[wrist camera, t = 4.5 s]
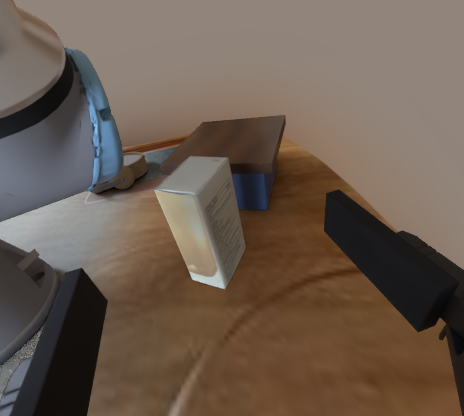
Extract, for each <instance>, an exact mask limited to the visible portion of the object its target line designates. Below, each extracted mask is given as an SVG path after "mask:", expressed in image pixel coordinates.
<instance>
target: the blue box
mask: <svg viewBox="0 0 464 416" xmlns="http://www.w3.org/2000/svg"><path fill="white" fill-rule="evenodd" d="M276 171H277V160H276V164H275V168H274V172H273V173H269V174H231V175H232V180H233V185H234V190H235V195H236V201H237V206H238V209H258V210H267V209H268V205H269V201H270V196H271V192H272V188H273V184H274V179H275V175H276Z"/></svg>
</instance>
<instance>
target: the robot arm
mask: <svg viewBox="0 0 464 416" xmlns="http://www.w3.org/2000/svg"><path fill="white" fill-rule="evenodd" d="M123 163H124V157H123V150H122V144H121V140H120V137H119V133H118V129H117V126H116V123H115V120H114V118H113V116H112V115H111V110H110V106H109V103H108V99H107V96H106V94H105V91H104V89H103V86H102V84H101V82H100V79H99V77H98V75H97V73H96V71H95V69H94V67H93V65H92V63H91V62H90V60H89V59H88V57H87V56H86V55H85V54H84V53H83V52H81V51H79V50H72V49H68V48H64V47H63V44H62V42H61V40H60V39H59V37H58V35H57V33H56V32H55V31H54V30H53V29H52V28H51V27H50V26H49V25H48V24H46V23H45V22H44V21H42V20H40V19H39V18H37V17H35V16H33V15H31V14H30V13H28V12H26V11H24V10H22V9H20V8H18V7H16V5H15V3H14V1H13V0H0V222H1V221H4V220H7V219H10V218H12V217H15V216H18V215H21V214H23V213H26V212H29V211H32V210H35V209H37V208H40V207H43V206H46V205H48V204H51V203H54V202H57V201H60V200H62V199H65V198H68V197H71V196H73V195H76V194H79V193H82V192H84V191H90V190H92V189H93V188H94V187H95V186H97V185H99V184H101V183H103V182H106V181H108V180H110V179H113V178H115V177H116V176H117V175H118V174H119V173H120V172H121V170H122V168H123ZM324 231H325V232H326V234H327V235H328V236H329V237H330V238H331V239H332V240H333V241H334V242H335V243H336V244H337V245H338V246H339V248H340V249H341V250H342V251H343V252H344V253H345V254H346V255H347V256H348V257H349V258H350V259H351V260H352V262H353V263H354V264H355V265H356V266H357V267H358V268H359V269H360V270H361V271H362V272H363V273H364V274H365V276H366V277H367V278H368V279H369V280H370V281H371V282H372V283H373V284H374V285H375V286H376V287H377V288H378V289H379V291H380V292H381V293H382V294H383V295H384V296H385V297H386V298H387V299H388V300H389V301H390V302H391V303H392V305H393V306H394V307H395V308H396V309H397V310H398V311H399V312H400V313H401V314H402V315H403V316H404V317H405V319H406V320H407V321H408V322H409V323H410V324H411V325H412V326H413V327H414V328H415V329H416V330H417V331H418V332H420V331H423V330H425V329H428V328H430V327H433V326H435V324H436V323H437V321H438V319H439V318H441V319H442V320H443V321H444V322H446V325H445V326H444V328H443V329H442V331H441V333H440V334H439V339H440V340H443V339H444V337H445V336H446V335H447V341H448V346H449V351H450V356H451V361H452V366H453V371H454V376H455V381H456V386H457V391H458V396H459V401H460V406H461V411H462V416H464V270H463V269H461V268H460V267H459V266H457V265H456V264H454V263H453V262H452V261H450V260H449V259H447V258H446V257H445V256H443V255H442V254H440V253H439V252H436V250H435V249H433V248H432V247H431V246H428V245H427V244H426V243H425V242H423V241H422V240H421V239H419V238H418V237H417V236H415V235H412V234H410V233H407V232H405V231H400V232H397V233H395V232H394V231H393V230H391V229H390V228H389V227H387V226H386V225H385V224H383V223H382V222H381V221H379V220H378V219H377V218H376V217H374V216H373V215H372V214H370V213H369V212H368V211H366V210H365V209H364V208H362V207H361V206H360V205H359V204H357V203H356V202H355V201H353V200H352V199H351V198H349V197H348V196H347V195H345V194H344V193H343V192H342V191H340V190H336V191H332V192H329V193H326V207H325V223H324ZM38 256H39V254H38V252H37V251H36V250H35V249H34V250H33V251H32V252H30V253H28V252H26V251H24V250H22V249H19V248H17V247H15V246H13V245H11V244H9V243H7V242H5V241H3V240H1V239H0V365H2V364H3V363H4V362H5V361H6V360H8V359H9V358H10V357H11V356H12V355H13V354H15V353H16V352H17V351H18V350H19V349H20V348H21V347H22V346H23V345H24V344H25V343H26V342H27V341H28V340H29V339H30V338H31V337H32V336H33V335H34V333H35V332H36V331H37V330H38V329H39V327H40V326H41V325H42V324H43V322H44V321H45V319H46V318H47V316H48V315H49V316H48V319H47V321H46V324H45V326H44V329H43V331H42V334H41V336H40V339H39V342H38V344H37V347H36V349H35V352H34V354H33V357H30V358H27V359H24V360H22V361H21V363H20V364H19V366H18V367H17V368H16V370H15V371H14V372H13V374H12V375H11V376H10V379H9V381H8V383H7V386H6V388H5V390H4V393H3V394H4V395H3V397H1V399H0V416H87V412H88V407H89V401H90V396H91V390H92V385H93V379H94V374H95V368H96V363H97V357H98V352H99V346H100V341H101V335H102V330H103V324H104V319H105V313H106V308H107V302H108V301H107V299H106V298H105V297H104V296H103V294H102V293H101V292H100V290H99V289H98V288H97V287H96V285H95V284H94V283H93V282H92V280H91V279H90V278H89V277H88V275H87V274H86V273H85V271H84V270H83V269H82V268H80V269H77V270H73V271H70V272H67V273H65V275H64V278H63V281H62V283H61V286H60V279H59V276H58V274H57V273H56V272H55V271H54V270H53V268H52V267H51V266H50V265H49V264H47V263H46V262H45V261H43V260H42V259H40V258H38ZM49 313H50V314H49Z"/></svg>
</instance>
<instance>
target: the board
mask: <svg viewBox="0 0 464 416" xmlns="http://www.w3.org/2000/svg"><path fill="white" fill-rule="evenodd" d="M284 127H285V115H282V116H270V117H259V118H246V119H236V120H223V121H212V122H203V123H202V124H201V125H200V126H199V127H198V128H197V129H196V130H195V131H194V132H193V133H192V134H191V135H190V136H189V137H188V138H187V139H186V140H185V141H184V142H183V143H182V144H181V145H180V146H179V147H178V148H177V149H176V150H175V151H174V152H173V153H172V154H171V155H170V156H169V157H168V158H167V159H166V160H165V161H164V162H163V163H162V164H161V165H160V166H159V167H160V169H161V172H162V175H170V174H171V173H172V172H173V171H174V170H175V169H176V168H178V167H179V166H180V165H181V164H182V163H183V162H184V161H185V160H187V159H188V158H189V157H190V156H202V157H226V158H228V159H229V165H230V170H231V174H269V173H273V172H274V168H275V164H276V160H277V156H278V152H279V148H280V144H281V140H282V136H283V131H284Z"/></svg>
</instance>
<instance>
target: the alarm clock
mask: <svg viewBox="0 0 464 416" xmlns="http://www.w3.org/2000/svg"><path fill="white" fill-rule="evenodd" d="M123 157H124V163H123V168H122V170H121V172H120V173H119V174H118V175H117V176H116V177H115V178H113V179H110V180H108V181H106V182H103V183H101V184H99V185H97V186H95V187H94V188H93V189H92V190H90V192H92V193H99V192H102V191H103V190H106V189H109V188H112V187H115V188H118V189H127V188H129V187H130V186H131V185H132V184H133V183H134V181H135V179H137V178H139V177H140V176H142V175H143V174H144V173H146V172H147V170H148V167H147V164H146V162H145V159H144V157H145V156H144V155H143V154H142V153H140V152H127V153H123Z"/></svg>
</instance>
